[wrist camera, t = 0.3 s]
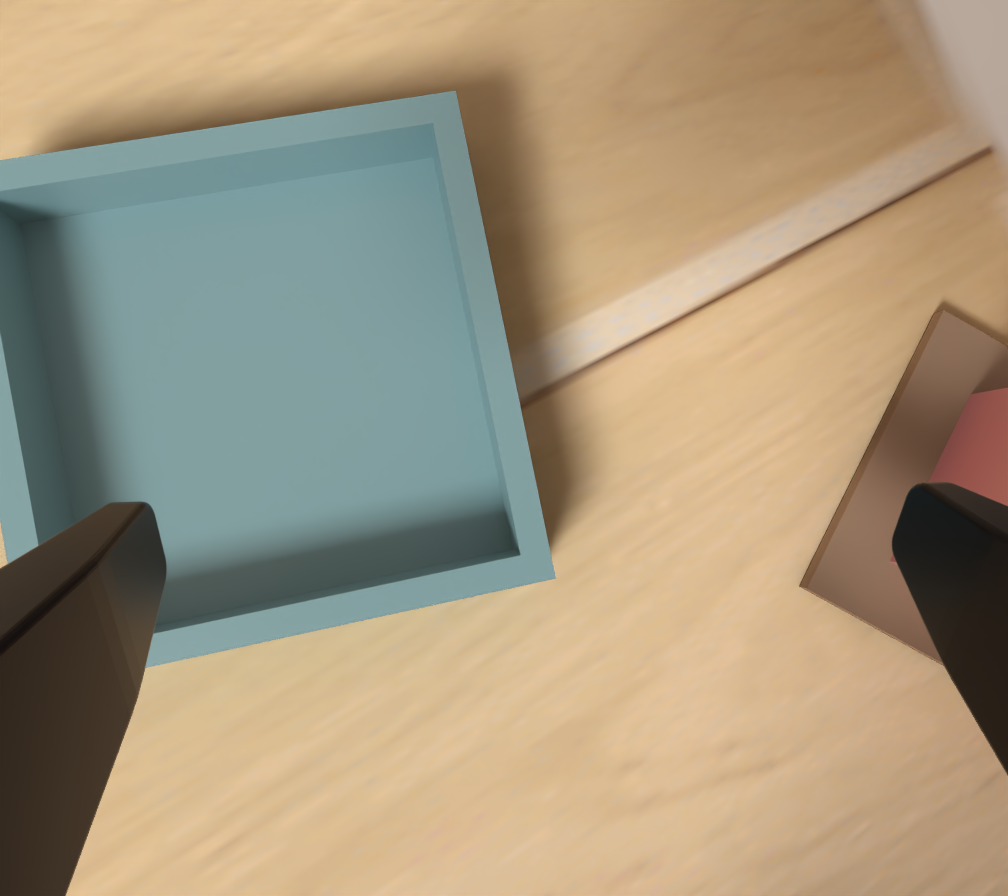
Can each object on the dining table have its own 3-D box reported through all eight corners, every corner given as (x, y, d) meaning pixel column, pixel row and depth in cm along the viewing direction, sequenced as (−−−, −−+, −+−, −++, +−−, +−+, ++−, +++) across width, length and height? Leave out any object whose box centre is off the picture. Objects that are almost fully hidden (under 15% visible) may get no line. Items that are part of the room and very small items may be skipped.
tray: (540, 567, 24) (555, 578, 21) (84, 665, 23) (30, 692, 20) (453, 139, 24) (455, 90, 21) (2, 211, 23) (-63, 169, 20)
